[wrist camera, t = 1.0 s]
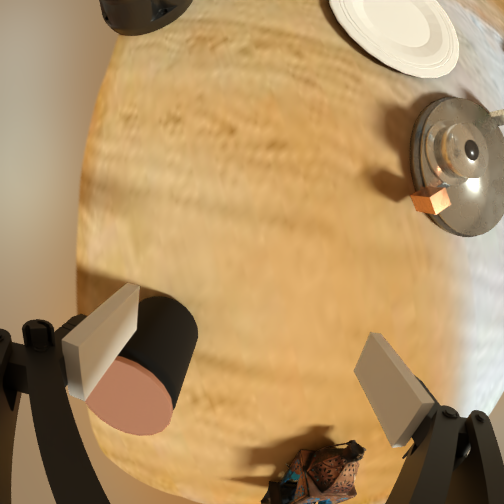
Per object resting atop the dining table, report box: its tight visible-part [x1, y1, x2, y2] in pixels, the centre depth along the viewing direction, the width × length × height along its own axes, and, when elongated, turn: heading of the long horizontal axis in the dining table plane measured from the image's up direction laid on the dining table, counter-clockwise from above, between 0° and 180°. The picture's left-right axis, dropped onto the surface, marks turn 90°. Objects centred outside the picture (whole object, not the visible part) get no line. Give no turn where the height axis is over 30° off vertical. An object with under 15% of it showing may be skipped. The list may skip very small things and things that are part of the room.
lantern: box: [261, 440, 366, 504], centre depth 44 cm, size 16×16×25 cm
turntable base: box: [410, 97, 504, 237], centre depth 32 cm, size 25×23×8 cm
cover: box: [424, 120, 489, 185], centre depth 31 cm, size 10×10×6 cm
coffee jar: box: [85, 296, 198, 436], centre depth 33 cm, size 11×11×18 cm
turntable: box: [410, 98, 504, 236], centre depth 32 cm, size 25×22×6 cm
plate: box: [329, 0, 459, 78], centre depth 30 cm, size 25×25×2 cm
